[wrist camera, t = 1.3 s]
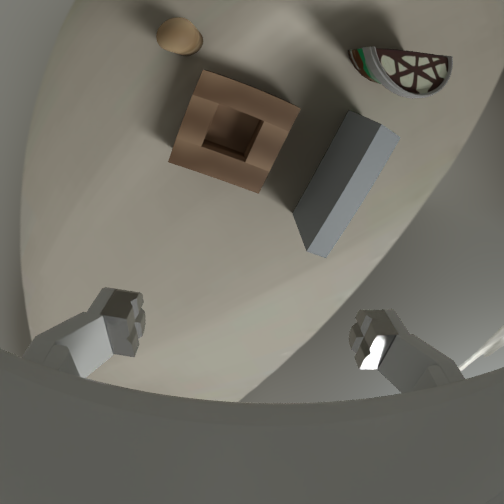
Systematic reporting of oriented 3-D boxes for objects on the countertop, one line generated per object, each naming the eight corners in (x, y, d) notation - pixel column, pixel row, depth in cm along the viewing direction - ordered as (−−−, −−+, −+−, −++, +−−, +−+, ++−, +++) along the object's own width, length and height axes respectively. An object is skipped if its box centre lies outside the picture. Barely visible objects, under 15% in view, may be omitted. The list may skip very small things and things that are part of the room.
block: (207, 70, 30) (203, 69, 26) (292, 104, 34) (300, 108, 30) (175, 151, 37) (168, 162, 33) (255, 179, 40) (258, 193, 36)
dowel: (179, 25, 26) (165, 13, 20) (207, 33, 28) (201, 22, 21) (167, 51, 28) (150, 46, 22) (195, 59, 30) (185, 55, 23)
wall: (348, 110, 34) (381, 124, 26) (365, 120, 35) (400, 137, 27) (292, 213, 44) (306, 251, 36) (309, 220, 45) (325, 258, 36)
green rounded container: (343, 92, 33) (376, 100, 25) (337, 50, 29) (369, 46, 21) (416, 91, 32) (458, 103, 24) (412, 54, 29) (455, 57, 20)
